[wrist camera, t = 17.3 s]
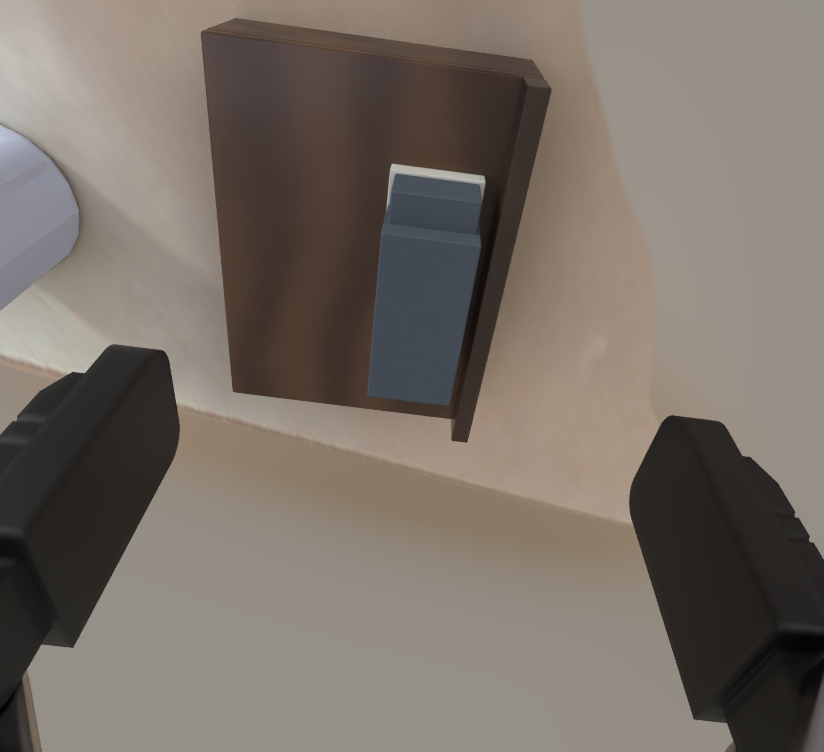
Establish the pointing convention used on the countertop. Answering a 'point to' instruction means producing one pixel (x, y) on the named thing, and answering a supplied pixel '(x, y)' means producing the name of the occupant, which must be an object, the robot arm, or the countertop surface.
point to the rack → (352, 194)
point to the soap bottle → (31, 215)
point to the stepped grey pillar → (424, 282)
